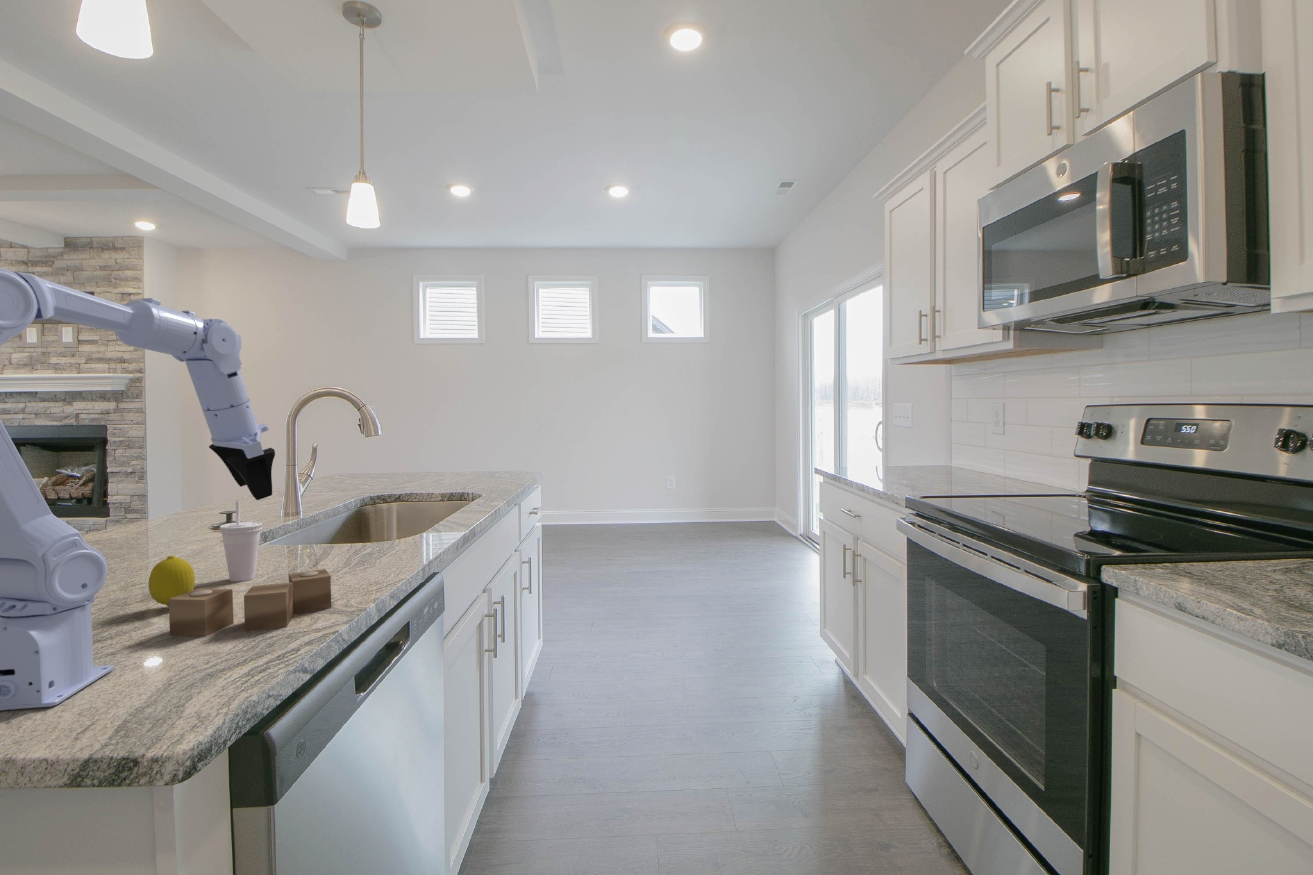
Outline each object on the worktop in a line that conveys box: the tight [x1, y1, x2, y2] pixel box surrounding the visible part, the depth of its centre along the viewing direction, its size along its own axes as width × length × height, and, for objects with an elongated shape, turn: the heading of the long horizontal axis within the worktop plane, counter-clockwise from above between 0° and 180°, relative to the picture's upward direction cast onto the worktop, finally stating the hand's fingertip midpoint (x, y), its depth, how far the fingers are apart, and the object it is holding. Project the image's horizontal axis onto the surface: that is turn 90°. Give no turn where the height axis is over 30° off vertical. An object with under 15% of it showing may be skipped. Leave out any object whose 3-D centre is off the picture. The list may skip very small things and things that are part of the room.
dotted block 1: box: [168, 587, 234, 638], centre depth 85 cm, size 5×5×5 cm
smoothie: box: [218, 500, 264, 583], centre depth 110 cm, size 6×6×14 cm
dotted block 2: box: [288, 568, 332, 615], centre depth 95 cm, size 5×5×5 cm
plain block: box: [243, 582, 294, 632], centre depth 88 cm, size 5×5×5 cm
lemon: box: [148, 555, 196, 608], centre depth 94 cm, size 6×6×8 cm
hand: (255, 490), depth 93 cm, fingers open, 7 cm apart
